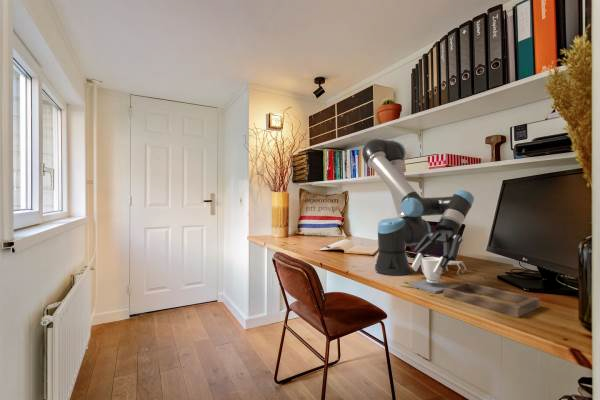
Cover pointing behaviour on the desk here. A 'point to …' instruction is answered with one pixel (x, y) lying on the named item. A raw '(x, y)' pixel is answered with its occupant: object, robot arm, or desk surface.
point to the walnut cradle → (522, 308)
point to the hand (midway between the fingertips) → (424, 271)
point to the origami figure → (455, 264)
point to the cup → (430, 269)
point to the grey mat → (430, 286)
